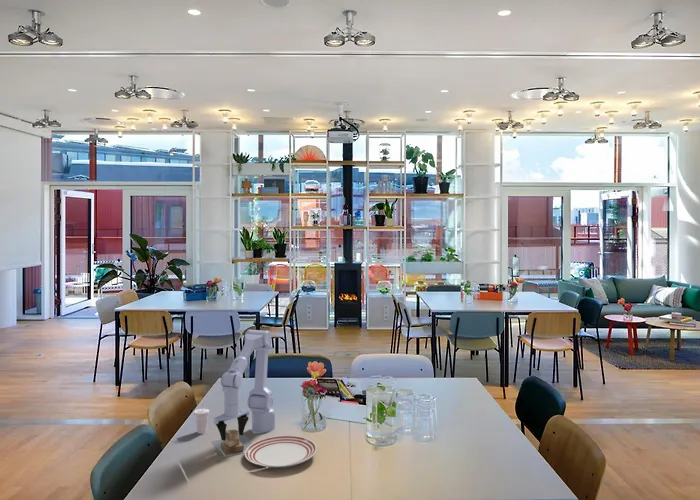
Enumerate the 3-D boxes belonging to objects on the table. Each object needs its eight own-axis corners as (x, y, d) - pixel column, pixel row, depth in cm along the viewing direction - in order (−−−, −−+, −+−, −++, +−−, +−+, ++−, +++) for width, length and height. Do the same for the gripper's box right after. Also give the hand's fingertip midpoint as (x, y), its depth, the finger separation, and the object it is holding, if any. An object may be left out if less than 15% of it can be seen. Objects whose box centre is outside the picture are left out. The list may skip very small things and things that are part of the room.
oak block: (234, 441, 211) (233, 428, 210) (239, 444, 208) (239, 431, 207) (224, 443, 208) (224, 431, 208) (230, 447, 205) (229, 434, 205)
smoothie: (205, 436, 223) (205, 403, 222) (191, 435, 224) (190, 403, 224) (212, 431, 229) (211, 399, 229) (198, 430, 231) (198, 398, 230)
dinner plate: (257, 480, 184) (257, 470, 184) (236, 450, 208) (236, 442, 208) (328, 464, 197) (329, 455, 197) (301, 438, 221) (300, 430, 221)
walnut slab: (238, 445, 212) (238, 439, 212) (243, 451, 206) (243, 445, 206) (221, 449, 209) (220, 442, 209) (225, 455, 203) (225, 449, 203)
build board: (244, 436, 223) (244, 434, 223) (258, 451, 208) (258, 450, 208) (211, 442, 217) (211, 441, 217) (223, 459, 201) (223, 457, 201)
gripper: (242, 396, 215) (243, 429, 215) (209, 404, 205) (210, 439, 206) (251, 400, 209) (252, 434, 210) (218, 409, 200) (219, 444, 200)
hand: (232, 437), depth 208 cm, fingers open, 7 cm apart
